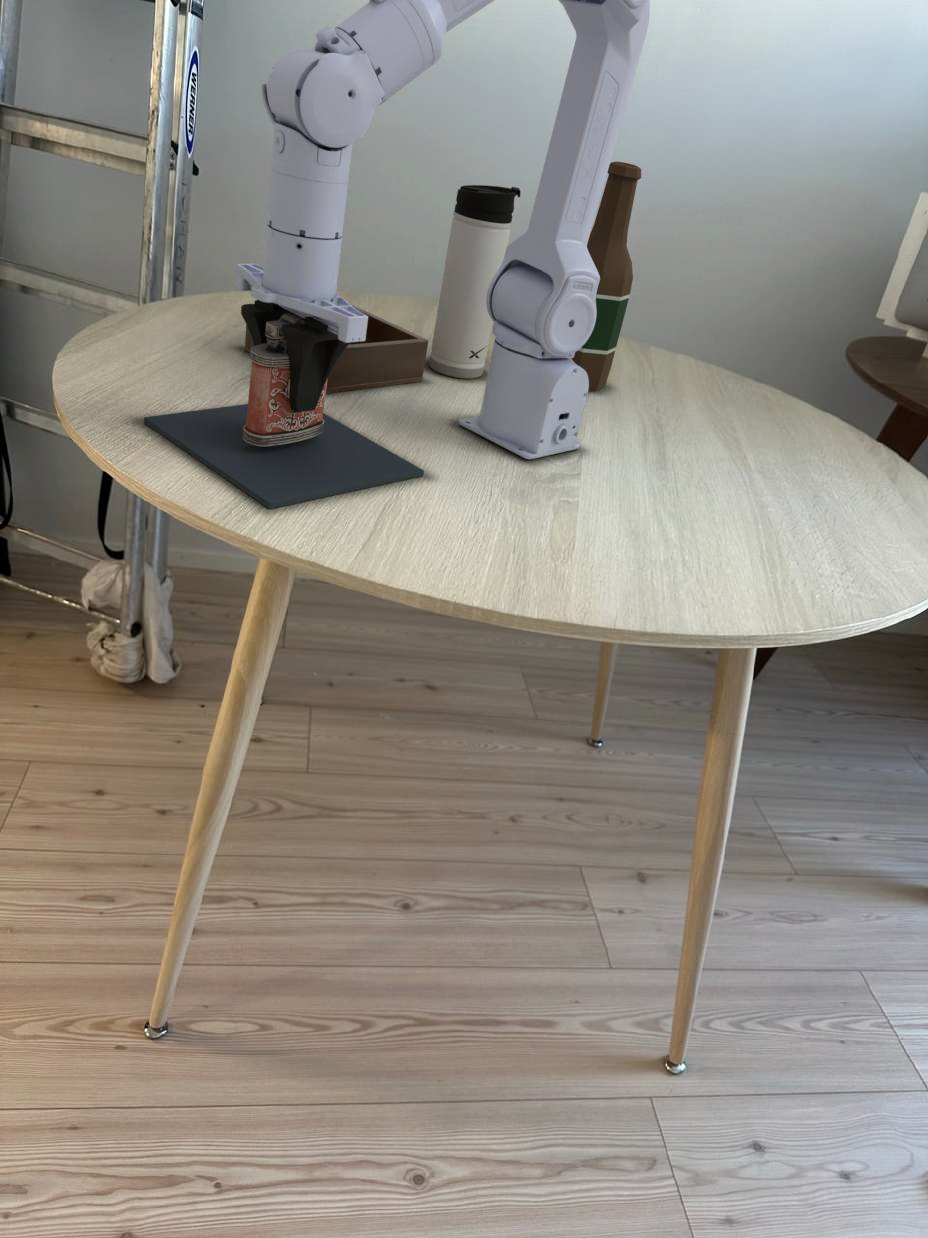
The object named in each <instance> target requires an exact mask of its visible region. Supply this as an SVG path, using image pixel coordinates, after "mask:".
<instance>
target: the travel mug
mask: <svg viewBox="0 0 928 1238" xmlns="http://www.w3.org/2000/svg"><path fill="white" fill-rule="evenodd" d="M516 196H517V198H521V189H520V188H519V187H517V186H511V187H505V186H497V185H485V184H484V185H483V184H468V185H467V184H466V185H461V186H460V188H458V189H457V192H456V198H455V201H456V203H455V205H454V210H453V218H452V221H451V226H450V231H449V239H448V244H447V249H446V250H447V251H446V255H445V256H446V257H445V262H444V269H443V273H442V274H443V275H442V281H441V288H440V292H439V299H438V305H437V313H436V318H435V324H434V329H433V337H432V344H431V349H430V350H431V351H430V354H429V361H428V364H429V367H430V368H431V369H432V370H433V371H435V372H437V373H439V374H441V375H444V376H448V377H450V378H456V379H464V380H466V379H467V380H468V379H469V380H470V379H471V380H472V379H478V378H479V377H481V376H482V375H483V373H484V369H485V366H486V365H485V364H486V362H485V361H486V359H487V355H488V348H489V343H490V338H491V333H492V330H493V324H494V321H493V320H492V319H491V317H490V316H489V314H488V311H487V306H486V296H487V291H488V287H489V285H490V282H491V280H492V278H493V277H494V275H495V274H496V273H497V271H498V270H499V268H500V266H501V264H502V262H503V259H504V255H505V251H506V248H507V246H508V245H509V239H510V234H511V227H512V224H513V222H512V221H513V213H514V212H515V198H516Z"/></svg>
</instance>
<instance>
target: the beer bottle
mask: <svg viewBox="0 0 928 1238" xmlns="http://www.w3.org/2000/svg"><path fill="white" fill-rule="evenodd" d="M641 179H642V168H641V167H640V166H638V165H635V164H632V163H628V162H625V161H617V160H616V161H610V165H609V168H608V172H607V178H606V181H605V186H604V188H603V191H602V195H601V198H600V202H599V205H598V208H597V212H596V215H595V219H594V222H593V225H592V229H591V232H590V236H589V239H588V243H587V249H588V252H589V254H590V256H591V258H592V260H593V262H594V265H595V267H596V269H597V271H598V273H599V276H600V281H599V285H598V288H597V293H596V310H597V315H596V322H595V326H594V329H593V331H592V333H591V335H590V337H589V339H588V340H587V341H586V343H585V344H584V345H583V346H582V347H581V348H580V349H579V350H578V351H576V352H575V355H574V358H571V359H572V360H573V361H574V363H575V364H577V365H578V366H580V367H581V368H583V369H584V370H585V371H586V373H587V375H588V379H589V390H588V392H596V391H599V390H601V389H602V388H604V387H605V386H606V384H607V382H608V378H609V376H610V372H611V369H612V365H613V362H614V358H615V354H616V350H617V345H618V342H619V338H620V334H621V331H622V326H623V323H624V319H625V315H626V312H627V308H628V303H629V299H630V296H631V291H632V286H633V280H634V274H633V273H634V272H633V261H632V259H631V256H630V253H629V249H628V233H629V227H630V222H631V217H632V211H633V206H634V201H635V196H636V190H637V184H638V181H639V180H641Z"/></svg>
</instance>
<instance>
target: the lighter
mask: <svg viewBox="0 0 928 1238" xmlns="http://www.w3.org/2000/svg"><path fill="white" fill-rule="evenodd" d="M304 321H305V319H304V318H297V317H295V316H293V315H291V314H284V315H282V316H281V318H280V320H279V321H270V322H267V323H266V333H265V335H266V336H267V343H264V344H261V345H257V346H253V347H251V349H250V353H249V359H250V361H251V364H250V365H251V366H250V377H249V388H248V400H247V404H248V410H247V421H246V425H245V426H244V428H243V439H244V440H245V441H246V442H248V443H250V444H252V445H256V446H273V445H281V444H287V443H293V442H298V441H301V440H305V439H308V438H311V437H314V436H316V435H319V434H321V433H322V432H323V427H324V420H323V419H322V418H323V413H324V410H325V402H326V394H327V393H326V387H327V380H328V378H327V380H326V383H325V385H324V388H323V390H322V393H321V396H320V398H319V401H318V404H317V406H316V409H315V410H311V411H304V412H295V411H293V410H291V405H290V364H289V356H288V350H287V345H286V341H285V338H284V335H283V332H282V325H283V324H299V323H302V324H304Z"/></svg>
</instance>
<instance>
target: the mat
mask: <svg viewBox="0 0 928 1238" xmlns="http://www.w3.org/2000/svg"><path fill="white" fill-rule="evenodd" d="M247 410H248V403H245V404H238V405H237V404H236V405H230V406H229V405H228V406H222V407H213V408H205V409H198V410H190V411H181V412H175V413H166V414H165V413H164V414H158V415H150V416H143V423H144V424H146V425H147V426H148V427H150V428H151V429H153V430H154V431H155V432H156V433H158V434H160V435H161V436H163V437H164V438H165V439H167V440H169V441H170V442H171V443H173V444H174V445H176V446H178V447H179V448H180V449H182V450H183V451H185V452H186V453H187V454H189V455H190V456H191V457H193V458H195V459H196V460H198V461H199V462H201V463H202V464H204V465H205V466H206V467H207V468H209V469H211V470H212V471H213V472H215V473H216V474H218V475H219V476H221V477H222V478H224V480H227V481H228V482H230V483H231V484H232V485H234V486H235V487H237V488H238V489H239V490H241V491H242V492H244V493H245V494H247V495H249V497H251V498H253V499H254V500H255V501H256V502H258V503H260V504H261V505H263V506H264V507H266V508H267V509H268V510H271V509H276V508H280V507H285V506H289V505H294V504H299V503H303V502H307V501H308V502H309V501H314V500H316V499H322V498H327V497H331V496H335V495H341V494H345V493H351V492H355V491H359V490H364V489H369V488H373V487H378V486H382V485H387V484H392V483H396V482H401V481H406V480H411V479H415V478H418V477H423V476H424V474H425V470H424V469H422V468H420V467H419V466H417V465H415V464H413V463H411V462H410V461H408V460H406V459H404V457H401V456H399V455H398V454H395V453H394V452H392V451H390V450H389V449H387V448H386V447H384V446H382V445H381V444H378V443H377V442H375V441H373V440H372V439H370V438H368V437H366V436H365V435H363V434H361V433H359V432H358V431H355V430H354V429H352V428H350V427H349V426H347V425H346V424H344V423H341V422H340V421H338V420H336V419H334V418H333V417H331V416H329V415H328V414H326V413H324V412H323V418H322V419H323V420H324V427H323V432H322V433H321V434H319V435H316V436H314V437H311V438H308V439H305V440H301V441H298V442H293V443H287V444H281V445H273V446H256V445H252V444H250V443H248V442H246V441H245V440H244V439H243V428H244V426H245V425H246V421H247Z"/></svg>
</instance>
